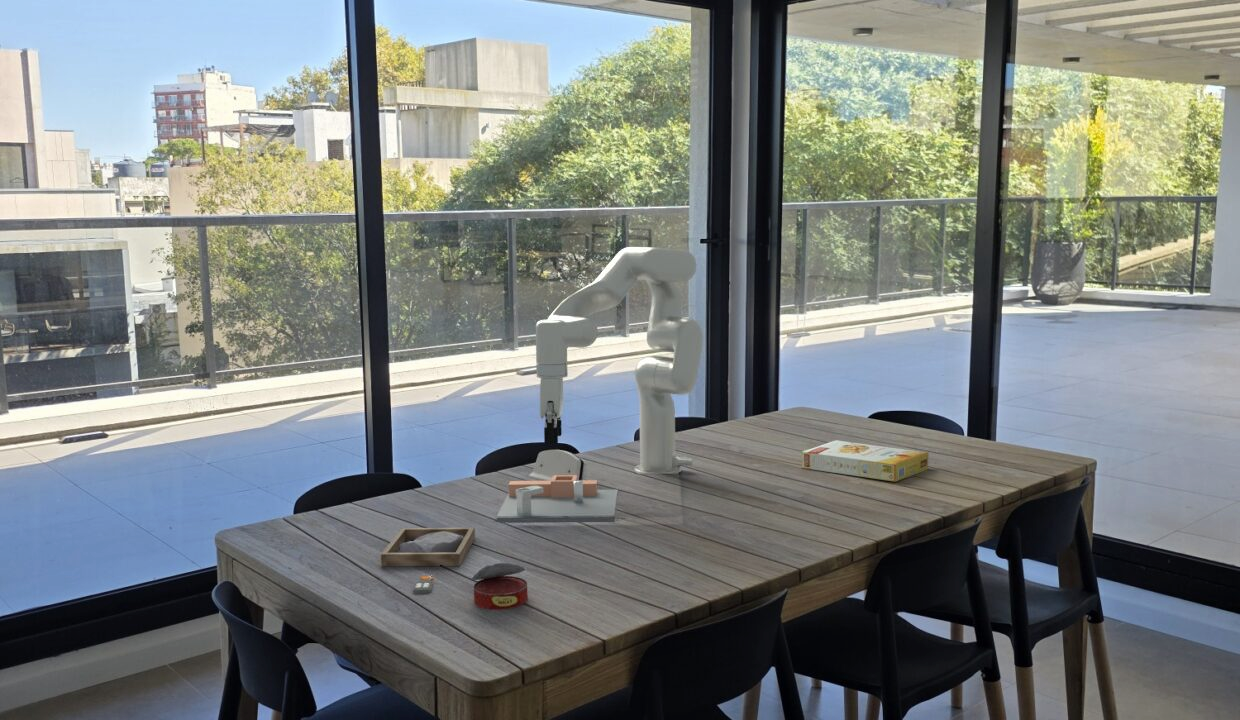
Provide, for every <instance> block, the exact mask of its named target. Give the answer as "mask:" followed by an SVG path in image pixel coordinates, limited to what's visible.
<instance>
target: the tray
mask: <svg viewBox="0 0 1240 720" xmlns="http://www.w3.org/2000/svg"><path fill="white" fill-rule="evenodd" d="M443 531H445V532H451V533H454V534H457V535H459V536H463V537H464V539H463V541H462V542H461V544H460V546H459V547H458V549H457V551H456V552H436V553H400V552H399V551H400V549H399V548H400V544H402V543H405V542H406V541H405V540H415V539H417V538H418V537H421V536H424V535H426V534H429V533H435V532H443ZM475 531H476V529H475V527H414V528H413V527H402V528H401V529H400V530H398V532H397V534H396V535H395V536H394V537H393V538H392V540H391V541H390V542H389V543H388V545H386V548H384V550H383V551H382V552H381V553H380V561H381V562H380V563H381V567H441V566H440V565H443V566H442V567H460V566H461V565H462V563H463V561H464V559H465V558H466V556H467V554H468V553H469V551H470V549H471V548H472V545H473V544H474V542H475V540H474V539H476V535H475V534H476V533H475ZM404 541H405V542H404ZM397 551H398V552H397ZM427 565H428V566H427ZM429 565H430V566H429ZM432 565H433V566H432Z"/></svg>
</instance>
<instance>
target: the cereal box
mask: <svg viewBox="0 0 1240 720" xmlns="http://www.w3.org/2000/svg"><path fill="white" fill-rule="evenodd" d="M801 468H802V469H807V470H813V471H814V470H815V471H819V472H820V471H821V472H827V473H834V474H841V475H848V476H855V477H860V478H868V479H874V480H882V481H888V482H894V483H896V482H899V481H901V480H903V479H907V478H909V477H912V476H914V475H917V474H920V473H922V472H925V471H926V470H928V469H929V452H925V451H918V450H912V449H911V450H910V449H903V448H897V447H896V448H895V447H889V446H888V447H887V446H880V445H876V444H875V445H874V444H866V443H859V442H852V441H844V440H838V439H835V440H832V441H829V442H827V443H824V444H821V445H818V446H815V447H813V448H809V449H805V450H802V451H801Z"/></svg>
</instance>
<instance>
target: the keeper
mask: <svg viewBox="0 0 1240 720" xmlns="http://www.w3.org/2000/svg"><path fill="white" fill-rule="evenodd" d="M540 493H544V492H543V487H540V486H537V485H535V486H530V487H525V488H520V489H516V497H517V514H519V515H522V516H521V517H525V516H524V515H529V514H531V495H535V494H540Z"/></svg>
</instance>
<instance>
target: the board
mask: <svg viewBox="0 0 1240 720" xmlns="http://www.w3.org/2000/svg"><path fill="white" fill-rule="evenodd" d="M618 490H619V489H597V496H583V502H582V503H575V502H574V497H552V498H551V496H531V514H529V515H524V516H522V515H519V514H517V497H516V496H509V492H508V494H507V496H506V497H505V499H504V501H503V503H502V505H501V507H500V509H499V511H498V513H497V514H496V523H497V522H501V524H502V522H504V523H505V524H513V523H514V524H517V523H518V524H520V523H521V524H522V523H523V524H524V523H525V522H527V524H529V523H532V524H533V523H534V524H535V523H536V524H537V523H614V522H615V519H616V517H615V513H616V505H617V499H618ZM506 522H507V523H506Z"/></svg>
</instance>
